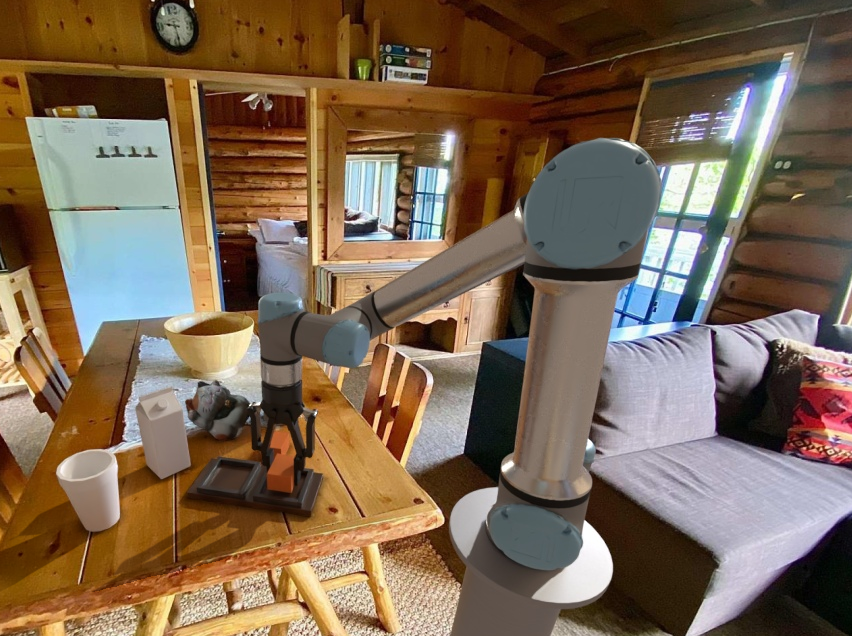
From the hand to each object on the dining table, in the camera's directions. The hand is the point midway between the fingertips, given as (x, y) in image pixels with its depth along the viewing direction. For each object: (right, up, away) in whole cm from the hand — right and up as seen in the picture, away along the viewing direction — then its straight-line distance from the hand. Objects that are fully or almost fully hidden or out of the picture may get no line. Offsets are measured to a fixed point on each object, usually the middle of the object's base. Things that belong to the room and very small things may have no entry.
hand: (284, 479), depth 91 cm
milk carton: (-27, +1, +8) cm, 28 cm away
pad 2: (0, 0, 0) cm, 0 cm away
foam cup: (-34, -6, -7) cm, 35 cm away
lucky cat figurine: (-19, +8, +23) cm, 31 cm away
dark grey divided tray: (-6, -2, +2) cm, 7 cm away
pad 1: (-4, +3, +14) cm, 15 cm away
